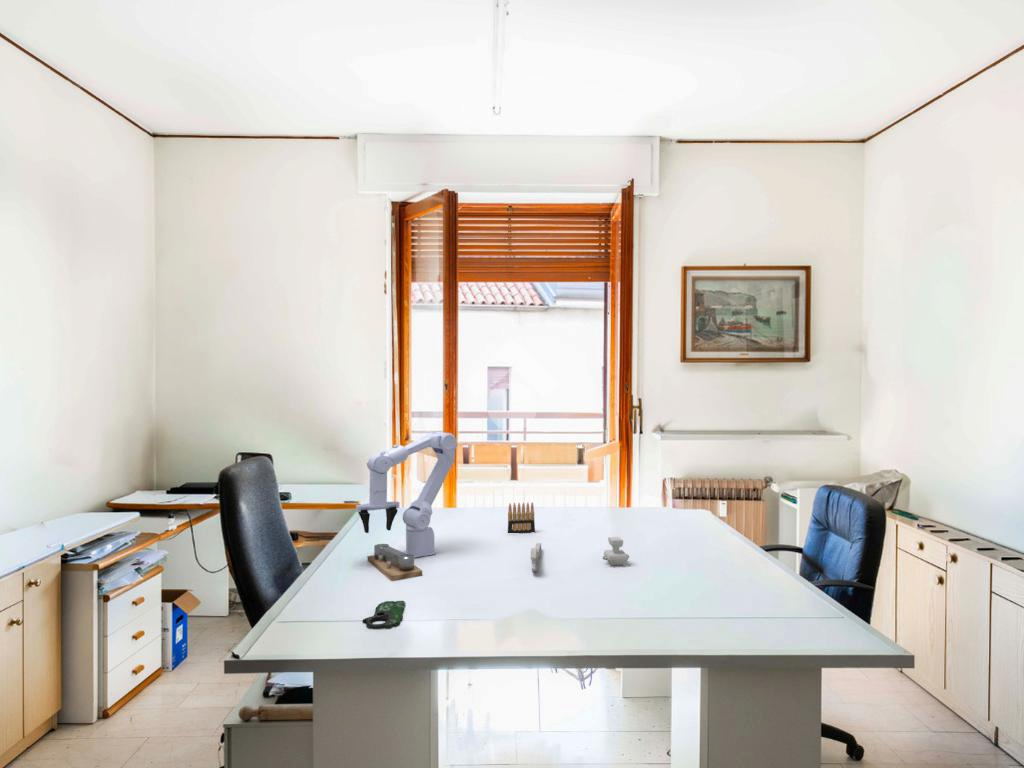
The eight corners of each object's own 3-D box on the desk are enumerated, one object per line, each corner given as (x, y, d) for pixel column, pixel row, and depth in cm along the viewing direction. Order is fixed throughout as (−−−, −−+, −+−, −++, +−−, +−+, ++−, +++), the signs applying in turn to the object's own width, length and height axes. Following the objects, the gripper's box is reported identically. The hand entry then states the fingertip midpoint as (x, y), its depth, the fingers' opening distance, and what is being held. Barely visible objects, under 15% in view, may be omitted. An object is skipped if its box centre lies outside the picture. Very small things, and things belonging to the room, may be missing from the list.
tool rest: (395, 555, 217) (395, 545, 217) (422, 575, 197) (422, 564, 197) (367, 560, 212) (367, 550, 212) (391, 581, 192) (391, 569, 192)
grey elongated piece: (384, 554, 214) (384, 542, 214) (417, 569, 198) (416, 556, 198) (371, 557, 211) (371, 545, 211) (403, 572, 195) (403, 559, 195)
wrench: (541, 558, 223) (536, 576, 194) (536, 558, 224) (530, 576, 194) (541, 535, 224) (536, 549, 194) (536, 535, 224) (530, 549, 195)
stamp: (604, 567, 203) (604, 541, 203) (600, 561, 210) (600, 536, 210) (632, 566, 204) (632, 540, 204) (626, 560, 211) (626, 535, 211)
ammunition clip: (534, 531, 249) (534, 501, 248) (535, 532, 247) (534, 502, 246) (507, 532, 247) (507, 502, 247) (508, 533, 246) (507, 503, 245)
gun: (370, 601, 172) (406, 600, 173) (370, 606, 172) (406, 605, 173) (359, 625, 156) (399, 624, 157) (359, 631, 156) (399, 630, 157)
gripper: (394, 487, 218) (393, 526, 218) (353, 490, 210) (352, 531, 210) (402, 490, 212) (401, 530, 212) (360, 494, 204) (359, 535, 204)
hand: (377, 531), depth 211 cm, fingers open, 7 cm apart
